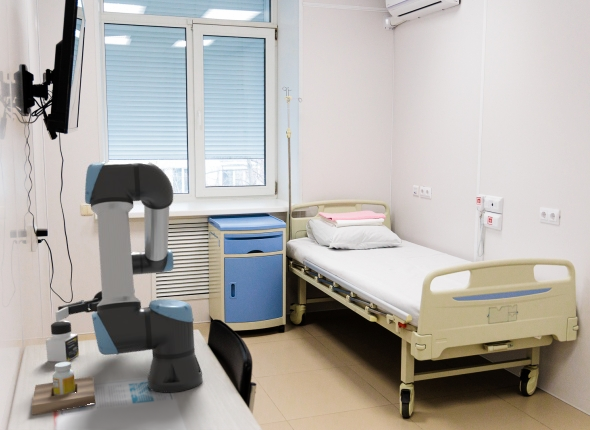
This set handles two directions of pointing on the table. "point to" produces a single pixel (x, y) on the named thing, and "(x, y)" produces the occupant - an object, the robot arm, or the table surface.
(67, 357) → the medicine bottle
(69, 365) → the supplement bottle
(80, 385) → the socket block
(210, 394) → the table surface
